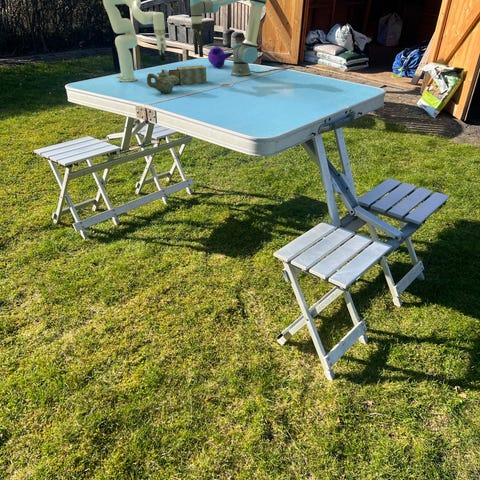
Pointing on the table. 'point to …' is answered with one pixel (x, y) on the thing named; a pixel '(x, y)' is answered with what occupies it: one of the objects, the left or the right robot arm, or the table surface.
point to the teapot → (162, 81)
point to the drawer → (173, 73)
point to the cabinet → (192, 75)
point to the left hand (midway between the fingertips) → (162, 60)
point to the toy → (218, 56)
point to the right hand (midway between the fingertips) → (198, 55)
